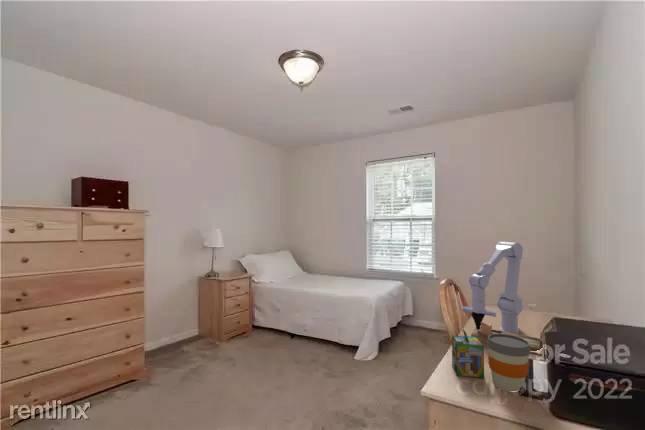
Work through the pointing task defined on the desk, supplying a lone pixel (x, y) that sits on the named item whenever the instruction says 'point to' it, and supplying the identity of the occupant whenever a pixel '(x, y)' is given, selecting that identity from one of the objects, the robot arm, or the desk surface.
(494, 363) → the reusable coffee cup
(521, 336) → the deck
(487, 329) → the block
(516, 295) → the robot arm
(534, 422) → the desk surface
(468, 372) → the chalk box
